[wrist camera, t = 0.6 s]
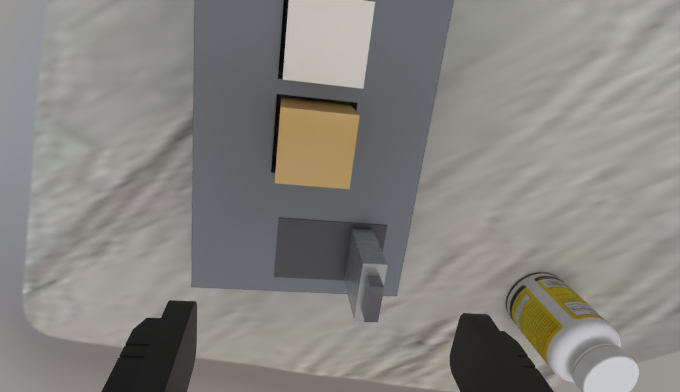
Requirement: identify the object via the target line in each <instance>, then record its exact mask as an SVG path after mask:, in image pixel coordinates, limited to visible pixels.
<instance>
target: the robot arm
mask: <svg viewBox="0 0 680 392" xmlns="http://www.w3.org/2000/svg"><path fill="white" fill-rule="evenodd" d="M196 341H197V303H196V301H172V300H170V301H169V302H168V303H167V306H166V308H165V310H164V313H163V315H162V317H161V318H146V319H145V320H144V321H143V322H141V323H140V324H139V325H138V326H137V327H135V328H134V329H133V331H132V333H131V335H130V336H129V338H128V340H127V342H126V346H124V348H123V351H122V352H121V354H120V358H118V360H117V362H116V365H115V366H114V368H113V370H112V372H111V374H110V376H109V378H108V380H107V382H106V384H105V386H104V388H103V390H102V392H187V389H188V385H189V382H190V378H191V374H192V371H193V367H194V361H195V356H196ZM450 367H451V372H452V374H453V377H454V379H455V381H456V383H457V385H458V387H459V390H460V392H553V390H552V389H551V387H550V386H549V385H548V383H547V382H546V380H545V379H544V378H543V376H542V375H541V373H540V372H539V371H538V369H535V365H534V364H533V362H532V361H531V359H530V358H528V355H527V354H526V353H525V351H524V350H523V348H522V347H521V346H520V344H519V343H518V342H517V341H516V340H514V339H513V338H512V337H511V336H509V335H508V334H507V333H506V332H505V331H499V329H498V328H497V326H496V325H495V323H494V322H493V320H492V319H491V318H490V316H489V315H487V314H469V313H463V314H462V315H461V316H460V319H459V322H458V326H457V330H456V333H455V337H454V341H453V345H452V349H451V353H450Z"/></svg>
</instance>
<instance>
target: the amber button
mask: <svg viewBox="0 0 680 392" xmlns="http://www.w3.org/2000/svg"><path fill="white" fill-rule="evenodd" d="M359 117H360V115H359V114H358V113H357V112H356V110H355V109H354V108H353V107H352V106H351V105H350V104H341V103H332V102H323V101H314V100H304V99H295V98H286V97H281V107H280V120H279V133H278V146H277V159H276V172H275V183H277V184H289V185H302V186H314V187H327V188H339V189H350V182H351V175H352V167H353V160H354V153H355V146H356V138H357V131H358V124H359Z"/></svg>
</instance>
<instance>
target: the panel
mask: <svg viewBox="0 0 680 392" xmlns="http://www.w3.org/2000/svg"><path fill="white" fill-rule="evenodd" d="M366 1H373V2H375V8H374V15H373V22H372V29H371V37H370V44H369V51H368V59H367V66H366V73H365V80H364V88H363V89H361V88H353V87H344V86H335V85H326V84H318V83H309V82H300V81H291V80H283V75H280V74H279V64H280V50H281V36H282V23H283V9H284V0H195V8H194V100H193V191H192V283H191V287H200V288H222V289H244V290H266V291H289V292H311V293H333V294H348V292H347V288H346V283H345V279H344V277H345V270H346V264H347V257H348V250H349V243H350V236H351V229H352V228H357V229H371V230H373V232H374V234H375V236H376V239H377V241H378V243H379V246H380V248H381V250H382V253H383V255H384V257H385V260H386V262H387V264H388V266H387V272H386V277H385V283H384V290H383V296H397V292H398V287H399V282H400V277H401V272H402V266H403V261H404V256H405V251H406V246H407V240H408V235H409V230H410V225H411V220H412V214H413V209H414V204H415V199H416V194H417V188H418V183H419V178H420V173H421V168H422V162H423V157H424V152H425V147H426V142H427V136H428V131H429V126H430V121H431V116H432V111H433V105H434V100H435V95H436V90H437V85H438V79H439V74H440V69H441V64H442V59H443V53H444V48H445V43H446V38H447V33H448V27H449V22H450V17H451V12H452V7H453V1H454V0H366ZM277 94H283V95H292V96H301V97H310V98H319V99H328V100H338V101H347V102H351V103H350V105H351V106H352V107H353V108H354V109H355V110H356V112H357V113H358V114H359V115H360V117H359V124H358V131H357V138H356V146H355V153H354V160H353V167H352V175H351V182H350V189H339V188H327V187H314V186H302V185H289V184H277V183H275V172H276V160H272V159H273V145H274V131H275V118H276V104H277Z"/></svg>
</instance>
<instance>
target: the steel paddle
mask: <svg viewBox="0 0 680 392" xmlns="http://www.w3.org/2000/svg"><path fill="white" fill-rule="evenodd" d="M387 266H388V264H387V262H386V260H385V257H384V255H383V253H382V250H381V248H380V246H379V243H378V241H377V239H376V236H375V234H374V232H373V230H371V229H357V228H352V229H351V236H350V243H349V250H348V257H347V264H346V270H345V277H344V279H345V283H346V288H347V292H348V296H349V301H350V305H351V309H352V314H353V318H354V321H364V322H378V318H379V312H380V307H381V301H382V296H383V290H384V283H385V277H386V272H387Z"/></svg>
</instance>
